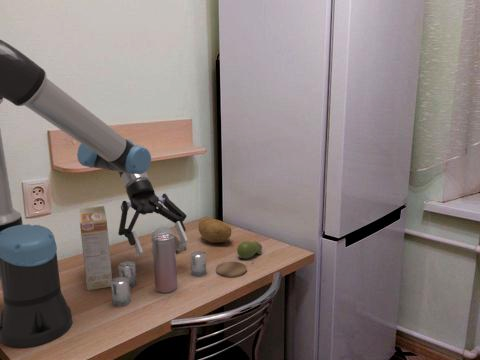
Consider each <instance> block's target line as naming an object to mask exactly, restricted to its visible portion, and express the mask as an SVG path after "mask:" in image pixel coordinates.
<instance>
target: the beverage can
mask: <svg viewBox="0 0 480 360" xmlns="http://www.w3.org/2000/svg"><path fill="white" fill-rule="evenodd" d="M151 243H152V257H153V259H152V260H153V262H152V263H153V272H154V273H153V275H154V288H155V290H156V291H157V292H159V293H162V294H163V293H166V294H167V293H171V292H174V291H175V290H176V288H178V273H177V272H178V271H177V257H176V256H177V255H176V254H177V253H176V252H177V251H175V239H174V235H173V234H170V233H160V234H156V235H154V236H153V240H152V239H151Z"/></svg>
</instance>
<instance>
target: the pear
mask: <svg viewBox="0 0 480 360" xmlns="http://www.w3.org/2000/svg"><path fill="white" fill-rule="evenodd" d="M262 249H263V246H262V244H261V243H259V242H258V241H242V242H241V243H239V244H238V246H237V248H236V250H237V251H236V253H237V255H238V256H239V257H240V259H243V260H248V259H251V258H252V257H253V256H255V255H256V254H257V255H258V254H259V255H261V254H262Z"/></svg>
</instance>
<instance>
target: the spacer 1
mask: <svg viewBox="0 0 480 360" xmlns="http://www.w3.org/2000/svg"><path fill="white" fill-rule="evenodd" d="M111 296H112V297H111V298H112V305H113V306H114V307H124V306H125V307H126V306H128V305H130V303H131V301H132V300H131V288H130V286H129V278H127V277H119V276H118V277H115V278H112V281H111Z"/></svg>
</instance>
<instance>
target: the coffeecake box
mask: <svg viewBox="0 0 480 360" xmlns="http://www.w3.org/2000/svg"><path fill="white" fill-rule="evenodd" d="M79 226H80V236H81V245H82V246H81V247H82V255H83V266H84V274H85V282H86V290H87V291H92V290H94V291H95V290H97V289H98V290H99V289H104V288H110V287H111V281H112V280H113V272H112V271H113V270H112V263H111V250H110V241H109V231H108V221H107V215H106V210H105V206H104V205H103V206H102V205H101V206H93V207H92V206H91V207H88V206H87V207H81V208H79ZM111 288H112V287H111Z"/></svg>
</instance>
